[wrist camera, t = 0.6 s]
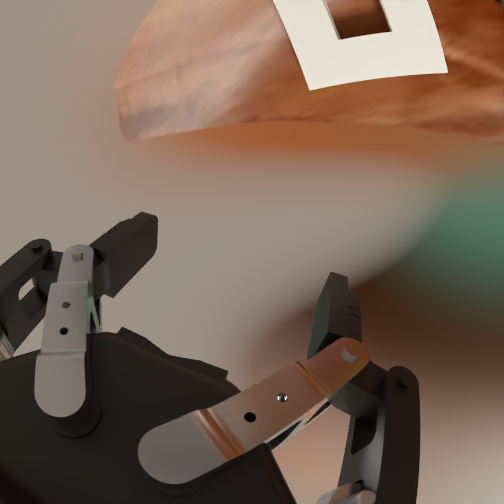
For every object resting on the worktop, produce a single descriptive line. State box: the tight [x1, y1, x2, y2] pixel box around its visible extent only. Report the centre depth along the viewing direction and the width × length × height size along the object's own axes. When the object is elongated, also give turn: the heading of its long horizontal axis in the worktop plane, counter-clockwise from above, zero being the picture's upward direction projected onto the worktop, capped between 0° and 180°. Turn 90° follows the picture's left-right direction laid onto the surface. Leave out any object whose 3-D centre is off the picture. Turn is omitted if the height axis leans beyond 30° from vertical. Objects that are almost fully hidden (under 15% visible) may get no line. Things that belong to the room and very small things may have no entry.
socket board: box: [273, 0, 448, 90], centre depth 21 cm, size 16×16×3 cm
